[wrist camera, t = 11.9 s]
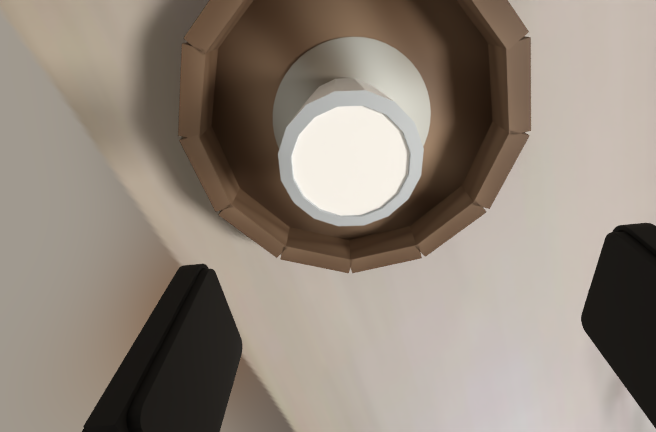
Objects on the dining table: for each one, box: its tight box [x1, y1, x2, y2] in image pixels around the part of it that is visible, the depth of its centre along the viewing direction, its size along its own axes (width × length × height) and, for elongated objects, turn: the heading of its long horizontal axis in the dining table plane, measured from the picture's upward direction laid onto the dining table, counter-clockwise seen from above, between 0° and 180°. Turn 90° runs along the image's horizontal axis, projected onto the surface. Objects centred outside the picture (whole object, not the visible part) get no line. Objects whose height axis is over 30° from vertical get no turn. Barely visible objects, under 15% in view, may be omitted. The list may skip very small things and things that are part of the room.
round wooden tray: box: [178, 0, 531, 273], centre depth 22 cm, size 20×20×4 cm
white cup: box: [278, 78, 424, 226], centre depth 20 cm, size 7×7×7 cm
